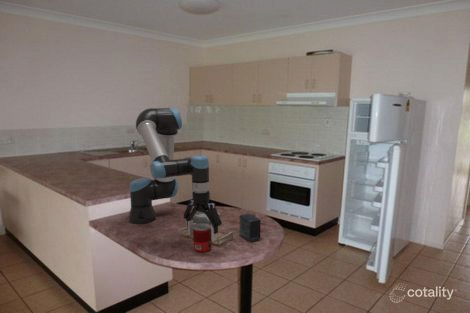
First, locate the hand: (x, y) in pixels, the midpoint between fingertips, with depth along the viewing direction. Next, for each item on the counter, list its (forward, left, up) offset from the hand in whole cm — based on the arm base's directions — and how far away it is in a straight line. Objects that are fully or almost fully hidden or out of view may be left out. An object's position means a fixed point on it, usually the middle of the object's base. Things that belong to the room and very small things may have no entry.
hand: (202, 237), depth 148 cm
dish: (-23, +30, -6) cm, 39 cm away
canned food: (0, 0, -6) cm, 6 cm away
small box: (+11, +23, -6) cm, 26 cm away
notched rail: (-7, +12, -6) cm, 15 cm away
